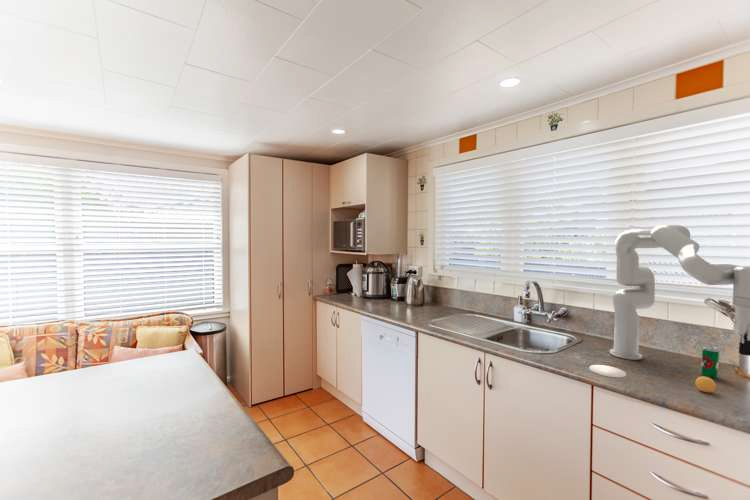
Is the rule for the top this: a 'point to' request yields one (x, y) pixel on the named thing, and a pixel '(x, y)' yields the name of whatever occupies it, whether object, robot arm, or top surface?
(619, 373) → the disc
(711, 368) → the soda can
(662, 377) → the top surface
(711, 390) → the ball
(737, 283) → the robot arm
